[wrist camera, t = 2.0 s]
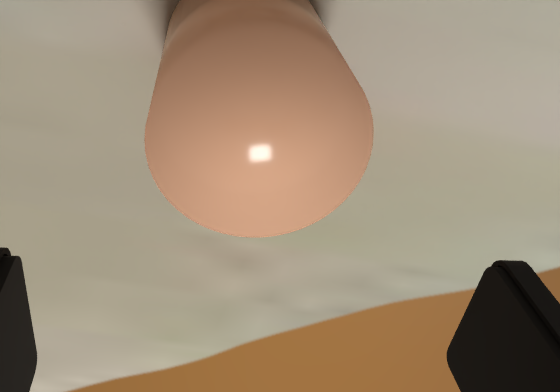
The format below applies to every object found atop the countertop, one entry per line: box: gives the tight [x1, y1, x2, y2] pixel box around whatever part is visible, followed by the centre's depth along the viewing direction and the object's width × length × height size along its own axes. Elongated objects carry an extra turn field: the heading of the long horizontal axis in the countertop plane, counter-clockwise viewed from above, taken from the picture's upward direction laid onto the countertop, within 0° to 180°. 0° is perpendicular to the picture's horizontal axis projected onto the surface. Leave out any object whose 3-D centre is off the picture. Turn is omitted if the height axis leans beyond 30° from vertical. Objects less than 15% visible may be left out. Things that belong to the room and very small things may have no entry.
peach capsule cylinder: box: [145, 0, 374, 237], centre depth 20 cm, size 7×7×9 cm
